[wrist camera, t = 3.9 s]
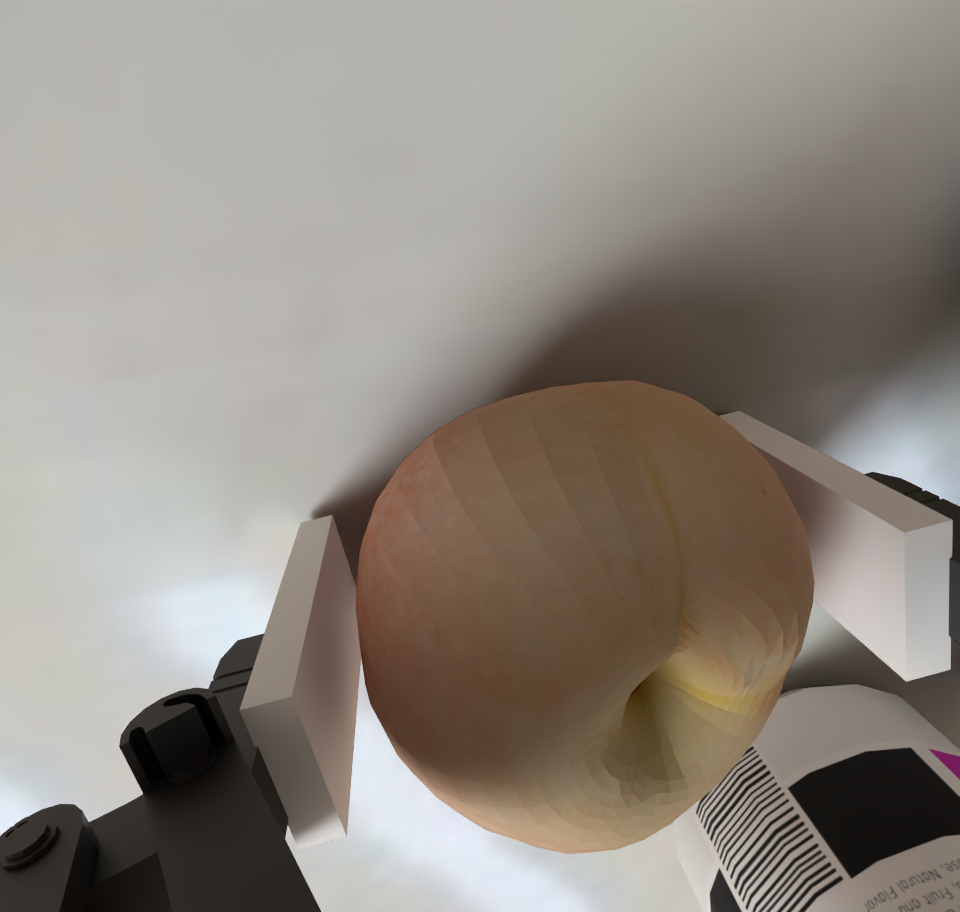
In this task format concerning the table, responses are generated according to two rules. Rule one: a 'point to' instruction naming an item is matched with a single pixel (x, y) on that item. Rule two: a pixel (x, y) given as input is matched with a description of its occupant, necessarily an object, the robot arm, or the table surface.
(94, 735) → the table surface
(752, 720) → the fruit
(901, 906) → the supplement can
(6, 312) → the table surface
